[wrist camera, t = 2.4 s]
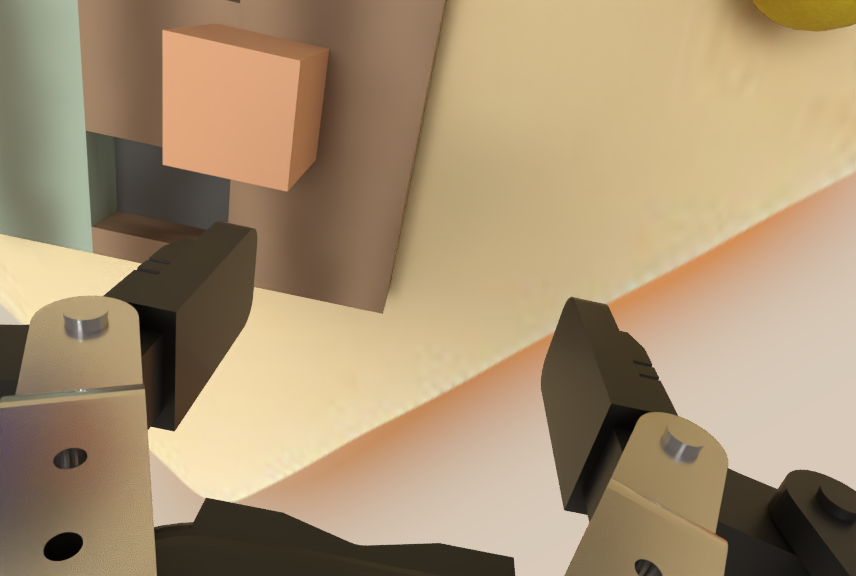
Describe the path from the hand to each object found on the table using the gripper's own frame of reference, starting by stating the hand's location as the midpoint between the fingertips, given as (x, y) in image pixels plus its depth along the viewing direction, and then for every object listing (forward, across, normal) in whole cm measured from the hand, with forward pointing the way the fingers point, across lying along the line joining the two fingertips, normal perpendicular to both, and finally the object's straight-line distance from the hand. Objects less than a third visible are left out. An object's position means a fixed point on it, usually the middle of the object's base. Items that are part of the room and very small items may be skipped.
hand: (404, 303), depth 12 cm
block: (+17, +8, 0) cm, 18 cm away
